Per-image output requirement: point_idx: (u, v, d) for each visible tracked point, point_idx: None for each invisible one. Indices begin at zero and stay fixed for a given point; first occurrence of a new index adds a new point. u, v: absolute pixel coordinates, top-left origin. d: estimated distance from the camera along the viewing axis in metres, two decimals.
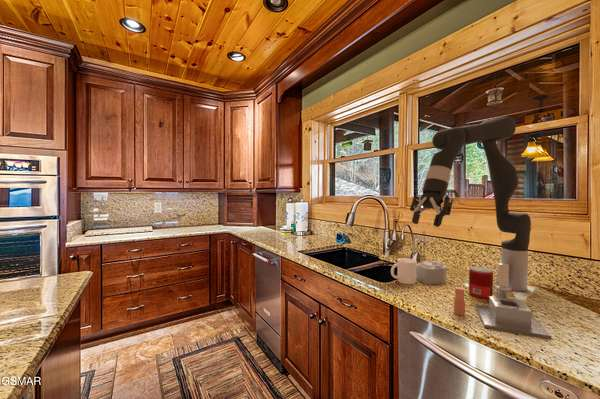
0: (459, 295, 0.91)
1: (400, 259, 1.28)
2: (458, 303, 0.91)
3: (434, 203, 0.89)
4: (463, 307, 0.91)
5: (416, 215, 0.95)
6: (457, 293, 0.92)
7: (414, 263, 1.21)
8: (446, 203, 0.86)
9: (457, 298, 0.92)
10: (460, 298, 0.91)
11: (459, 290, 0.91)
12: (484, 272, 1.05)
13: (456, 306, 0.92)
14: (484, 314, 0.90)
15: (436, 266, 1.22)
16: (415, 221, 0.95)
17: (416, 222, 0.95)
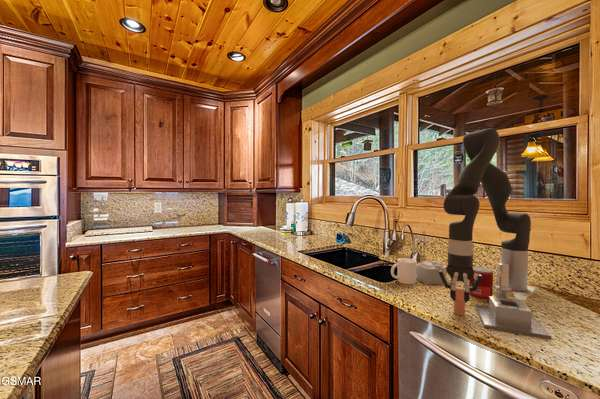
0: (459, 295, 0.91)
1: (400, 259, 1.28)
2: (458, 303, 0.91)
3: (466, 280, 0.90)
4: (463, 307, 0.91)
5: None
6: (457, 293, 0.92)
7: (414, 263, 1.21)
8: (478, 283, 0.89)
9: (457, 298, 0.92)
10: (460, 298, 0.91)
11: (459, 290, 0.91)
12: (484, 272, 1.05)
13: (456, 306, 0.92)
14: (484, 314, 0.90)
15: (436, 266, 1.22)
16: (454, 298, 0.93)
17: (454, 298, 0.93)
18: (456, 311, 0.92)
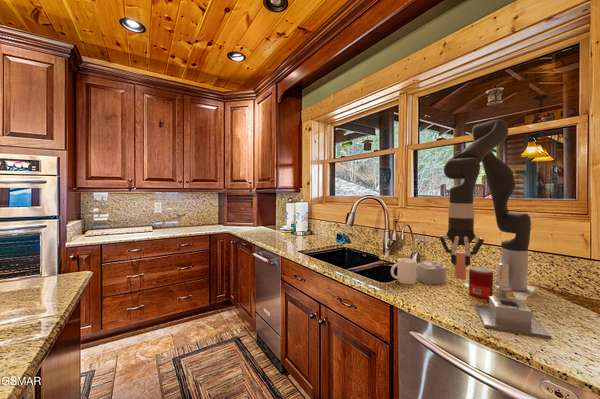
0: (460, 259, 0.91)
1: (400, 259, 1.28)
2: (459, 268, 0.91)
3: (467, 244, 0.90)
4: (464, 271, 0.90)
5: (455, 257, 0.92)
6: (458, 257, 0.91)
7: (414, 263, 1.21)
8: (479, 246, 0.89)
9: (458, 262, 0.91)
10: (461, 262, 0.91)
11: (460, 254, 0.91)
12: (484, 272, 1.04)
13: (457, 270, 0.91)
14: (484, 314, 0.90)
15: (436, 266, 1.22)
16: (455, 263, 0.92)
17: None
18: (457, 275, 0.91)
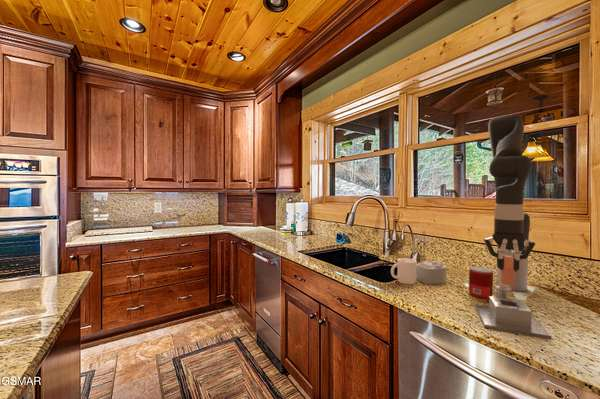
0: (508, 263, 0.85)
1: (400, 259, 1.28)
2: (507, 272, 0.85)
3: (516, 247, 0.84)
4: (512, 276, 0.85)
5: (502, 261, 0.87)
6: (505, 261, 0.86)
7: (414, 263, 1.21)
8: (530, 250, 0.83)
9: (505, 267, 0.86)
10: (509, 267, 0.85)
11: (508, 258, 0.85)
12: (484, 272, 1.05)
13: (504, 275, 0.86)
14: (484, 314, 0.90)
15: (436, 266, 1.22)
16: (502, 267, 0.87)
17: None
18: (504, 281, 0.86)
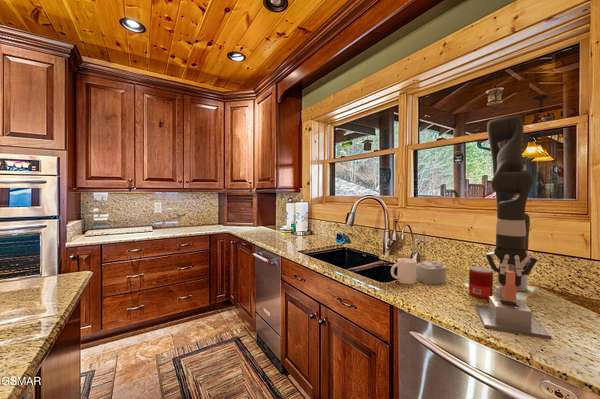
0: (510, 279, 0.85)
1: (400, 259, 1.28)
2: (509, 288, 0.85)
3: (518, 263, 0.84)
4: (514, 292, 0.85)
5: (504, 277, 0.86)
6: (507, 277, 0.86)
7: (414, 263, 1.21)
8: (532, 266, 0.83)
9: (507, 282, 0.86)
10: (511, 282, 0.85)
11: (509, 274, 0.85)
12: (484, 272, 1.05)
13: (506, 291, 0.86)
14: (484, 314, 0.90)
15: (436, 266, 1.22)
16: None
17: None
18: (506, 296, 0.86)
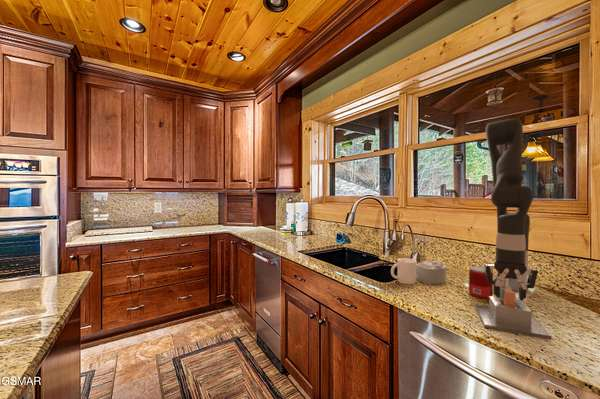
0: (510, 299, 0.85)
1: (400, 259, 1.28)
2: None
3: (520, 277, 0.84)
4: None
5: (499, 289, 0.87)
6: (507, 297, 0.86)
7: (414, 263, 1.21)
8: (535, 278, 0.83)
9: (507, 302, 0.86)
10: (511, 302, 0.85)
11: (509, 294, 0.85)
12: (484, 272, 1.05)
13: None
14: (484, 314, 0.90)
15: (436, 266, 1.22)
16: None
17: None
18: None
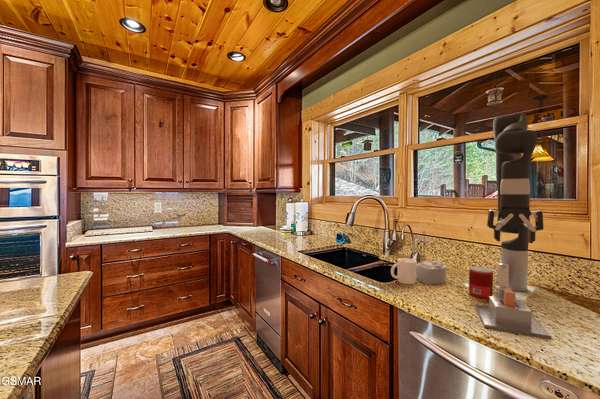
0: (510, 299, 0.85)
1: (400, 259, 1.28)
2: None
3: (526, 220, 0.84)
4: None
5: (499, 233, 0.88)
6: (507, 297, 0.86)
7: (414, 263, 1.21)
8: (541, 219, 0.83)
9: (507, 302, 0.86)
10: (511, 302, 0.85)
11: (509, 294, 0.85)
12: (484, 272, 1.05)
13: None
14: (484, 314, 0.90)
15: (436, 266, 1.22)
16: (499, 239, 0.88)
17: None
18: None
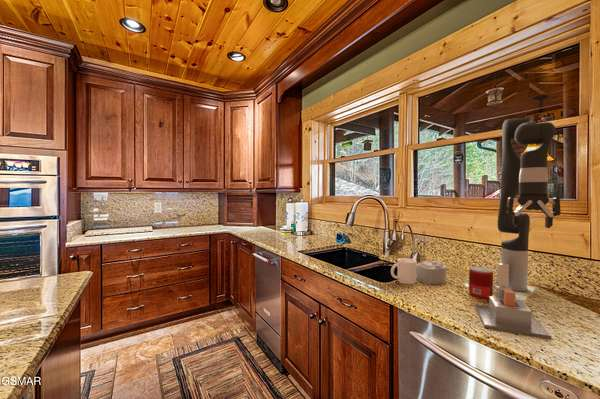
0: (510, 299, 0.85)
1: (400, 259, 1.28)
2: None
3: (544, 206, 0.90)
4: None
5: (518, 218, 0.94)
6: (507, 297, 0.86)
7: (414, 263, 1.21)
8: (558, 205, 0.89)
9: (507, 302, 0.86)
10: (511, 302, 0.85)
11: (509, 294, 0.85)
12: (484, 272, 1.05)
13: None
14: (484, 314, 0.90)
15: (436, 266, 1.22)
16: None
17: None
18: None
